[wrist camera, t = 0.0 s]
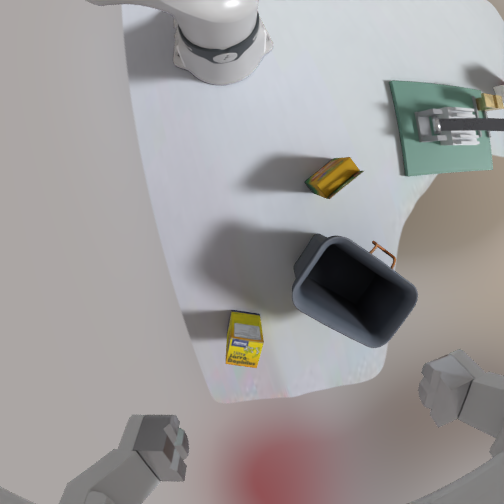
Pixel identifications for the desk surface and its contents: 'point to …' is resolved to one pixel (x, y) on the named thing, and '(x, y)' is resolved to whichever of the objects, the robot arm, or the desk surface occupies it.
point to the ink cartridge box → (499, 91)
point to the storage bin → (352, 290)
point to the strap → (466, 124)
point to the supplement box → (244, 339)
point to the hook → (489, 102)
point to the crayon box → (333, 177)
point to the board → (433, 150)
